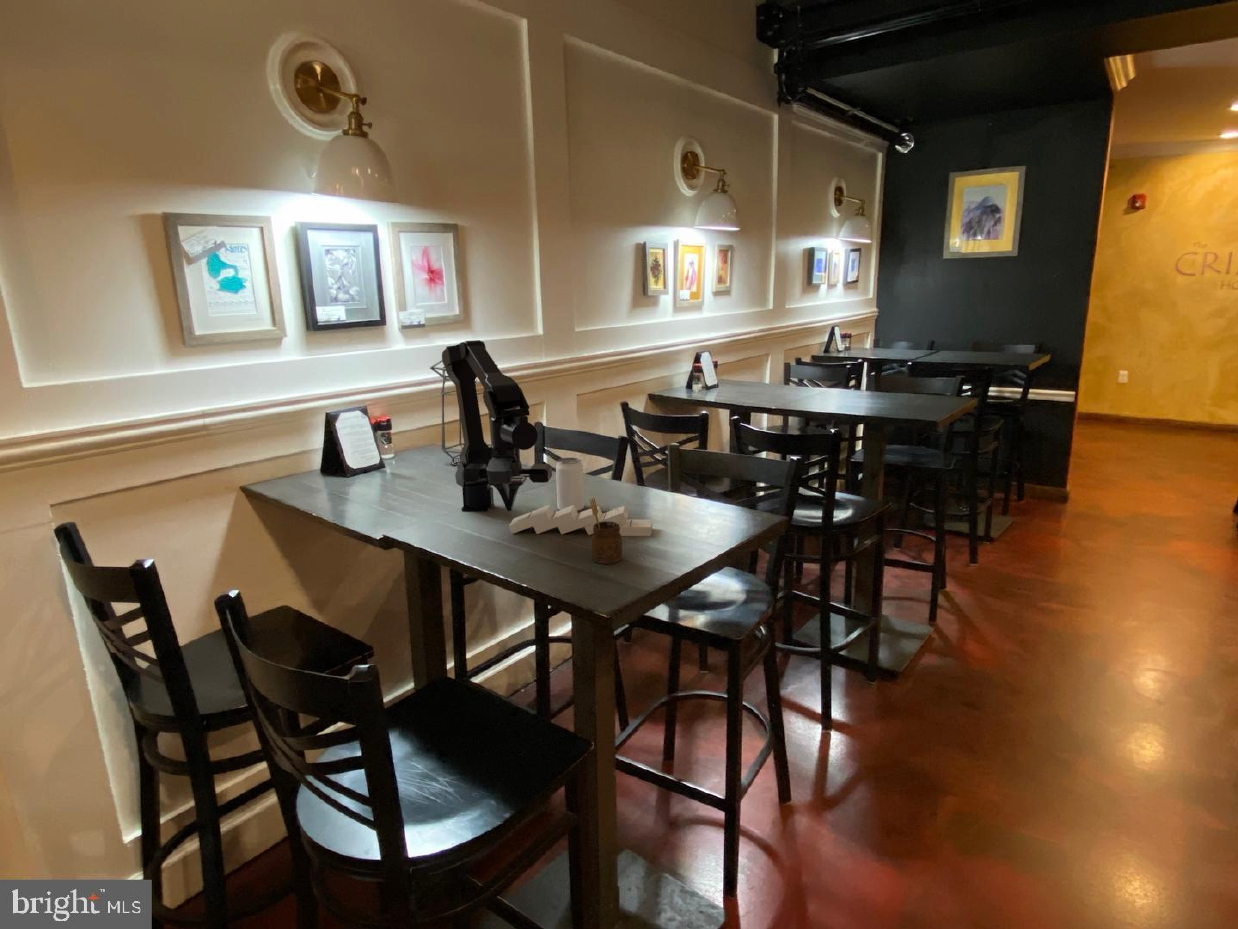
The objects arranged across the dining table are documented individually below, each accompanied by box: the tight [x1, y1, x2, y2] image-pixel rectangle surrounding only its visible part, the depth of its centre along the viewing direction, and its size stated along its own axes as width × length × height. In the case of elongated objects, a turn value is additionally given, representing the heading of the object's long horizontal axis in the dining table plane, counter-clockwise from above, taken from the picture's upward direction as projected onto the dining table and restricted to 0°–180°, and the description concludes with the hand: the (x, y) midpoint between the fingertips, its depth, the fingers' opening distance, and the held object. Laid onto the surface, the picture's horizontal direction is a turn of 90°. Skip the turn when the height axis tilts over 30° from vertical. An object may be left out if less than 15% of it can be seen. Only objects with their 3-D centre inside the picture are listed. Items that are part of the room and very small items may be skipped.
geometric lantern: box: [429, 359, 498, 463], centre depth 214 cm, size 16×16×35 cm
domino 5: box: [619, 519, 653, 537], centre depth 155 cm, size 2×5×9 cm
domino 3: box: [557, 505, 603, 535], centre depth 156 cm, size 2×5×9 cm
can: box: [555, 457, 585, 512], centre depth 171 cm, size 6×6×12 cm
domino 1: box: [508, 504, 554, 535], centre depth 157 cm, size 2×5×9 cm
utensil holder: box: [589, 497, 623, 565], centre depth 139 cm, size 6×6×12 cm
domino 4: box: [584, 505, 630, 536], centre depth 155 cm, size 2×5×9 cm
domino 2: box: [532, 505, 578, 535], centre depth 156 cm, size 2×5×9 cm
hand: (509, 510), depth 157 cm, fingers closed
